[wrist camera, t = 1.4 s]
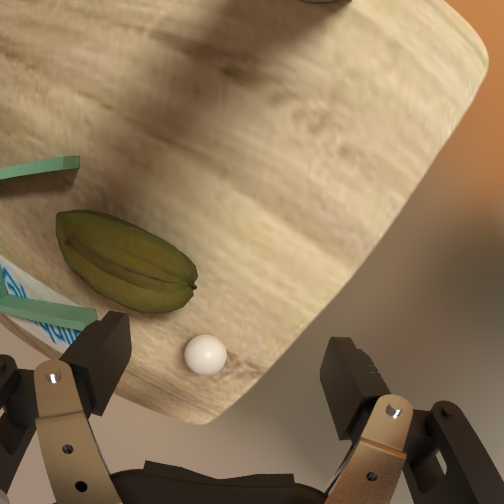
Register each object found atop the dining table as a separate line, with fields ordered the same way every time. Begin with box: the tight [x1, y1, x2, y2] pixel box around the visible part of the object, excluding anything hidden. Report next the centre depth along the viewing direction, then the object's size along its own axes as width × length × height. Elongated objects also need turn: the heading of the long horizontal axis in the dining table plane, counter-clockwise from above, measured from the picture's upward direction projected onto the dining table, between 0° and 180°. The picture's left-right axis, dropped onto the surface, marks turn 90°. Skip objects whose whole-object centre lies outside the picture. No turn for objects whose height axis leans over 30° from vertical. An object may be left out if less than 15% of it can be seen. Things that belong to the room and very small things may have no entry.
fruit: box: [56, 210, 198, 314], centre depth 24 cm, size 11×12×7 cm
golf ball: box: [184, 334, 227, 376], centre depth 28 cm, size 4×4×4 cm
